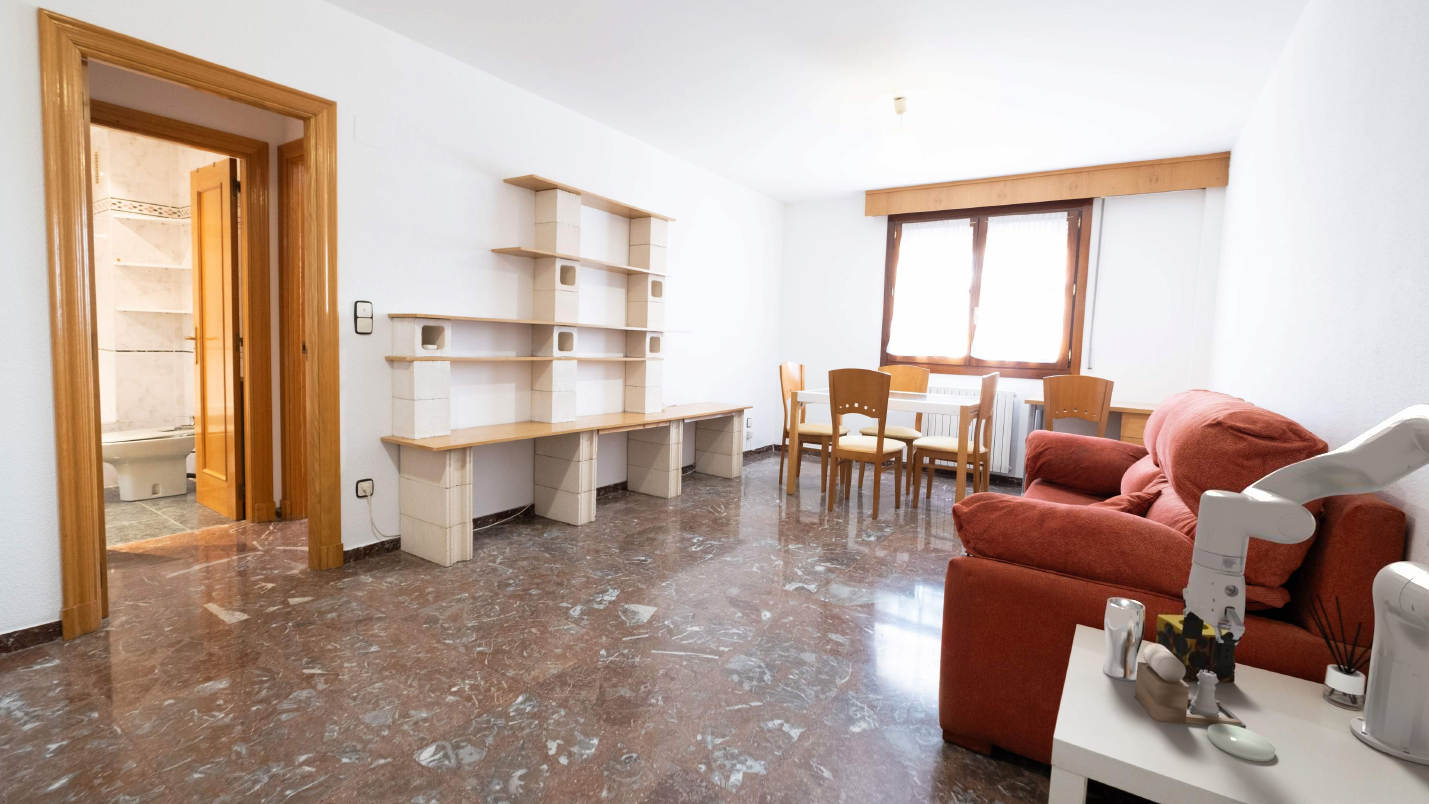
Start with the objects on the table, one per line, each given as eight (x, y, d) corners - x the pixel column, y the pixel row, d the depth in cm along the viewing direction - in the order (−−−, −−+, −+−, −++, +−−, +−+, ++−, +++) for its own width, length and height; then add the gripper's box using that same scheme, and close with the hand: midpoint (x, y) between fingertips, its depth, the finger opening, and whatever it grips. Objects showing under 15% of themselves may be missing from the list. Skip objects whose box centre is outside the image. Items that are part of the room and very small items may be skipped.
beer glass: (1146, 684, 131) (1152, 612, 130) (1107, 680, 133) (1113, 608, 131) (1131, 667, 138) (1137, 598, 137) (1095, 663, 140) (1101, 595, 138)
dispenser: (1220, 705, 124) (1226, 647, 123) (1246, 730, 116) (1253, 668, 115) (1134, 696, 127) (1139, 639, 126) (1155, 720, 119) (1160, 660, 118)
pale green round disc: (1252, 732, 116) (1253, 726, 116) (1288, 764, 107) (1288, 759, 107) (1196, 726, 117) (1196, 720, 117) (1226, 757, 109) (1227, 752, 108)
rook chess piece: (1220, 724, 118) (1224, 681, 117) (1189, 716, 120) (1194, 674, 120) (1217, 712, 122) (1221, 671, 121) (1188, 705, 124) (1192, 664, 123)
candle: (1235, 684, 133) (1240, 636, 132) (1185, 682, 133) (1189, 635, 132) (1199, 659, 143) (1203, 614, 142) (1152, 657, 143) (1156, 613, 142)
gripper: (1273, 579, 109) (1259, 677, 111) (1213, 546, 126) (1201, 632, 128) (1223, 574, 110) (1210, 671, 112) (1170, 542, 127) (1159, 627, 129)
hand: (1205, 650), depth 120 cm, fingers open, 9 cm apart
